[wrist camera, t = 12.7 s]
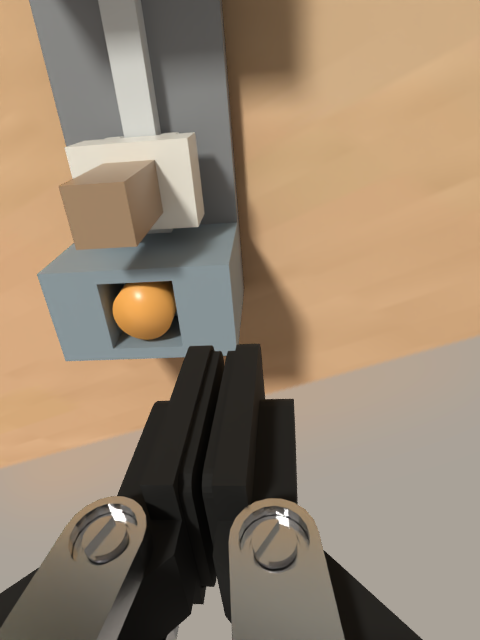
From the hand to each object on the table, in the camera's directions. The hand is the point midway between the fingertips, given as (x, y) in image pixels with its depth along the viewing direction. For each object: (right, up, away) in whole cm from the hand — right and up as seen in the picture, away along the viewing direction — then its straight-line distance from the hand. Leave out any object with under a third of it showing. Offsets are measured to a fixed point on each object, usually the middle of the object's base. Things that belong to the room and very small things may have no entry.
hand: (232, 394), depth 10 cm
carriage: (-6, +11, +18) cm, 22 cm away
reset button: (-6, +4, +18) cm, 19 cm away
